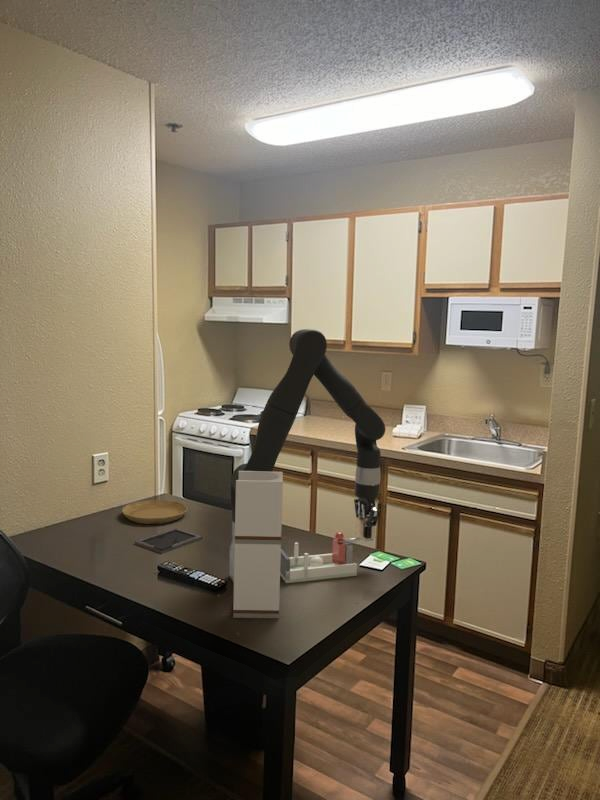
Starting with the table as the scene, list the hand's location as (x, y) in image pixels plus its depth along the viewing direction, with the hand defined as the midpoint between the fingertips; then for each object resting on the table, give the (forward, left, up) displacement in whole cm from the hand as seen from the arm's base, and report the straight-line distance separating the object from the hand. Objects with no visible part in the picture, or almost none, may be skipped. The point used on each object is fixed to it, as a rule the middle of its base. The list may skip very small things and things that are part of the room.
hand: (365, 535), depth 186 cm
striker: (-4, 0, -8) cm, 9 cm away
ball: (-16, 0, -7) cm, 17 cm away
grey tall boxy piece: (-39, -18, -10) cm, 44 cm away
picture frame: (-55, +37, -11) cm, 67 cm away
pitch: (-16, 0, -10) cm, 19 cm away
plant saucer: (-57, +66, -11) cm, 88 cm away
